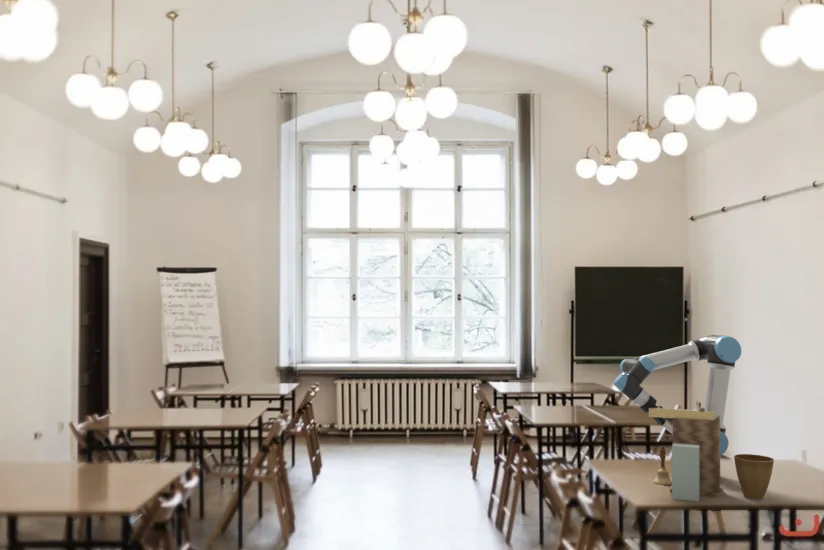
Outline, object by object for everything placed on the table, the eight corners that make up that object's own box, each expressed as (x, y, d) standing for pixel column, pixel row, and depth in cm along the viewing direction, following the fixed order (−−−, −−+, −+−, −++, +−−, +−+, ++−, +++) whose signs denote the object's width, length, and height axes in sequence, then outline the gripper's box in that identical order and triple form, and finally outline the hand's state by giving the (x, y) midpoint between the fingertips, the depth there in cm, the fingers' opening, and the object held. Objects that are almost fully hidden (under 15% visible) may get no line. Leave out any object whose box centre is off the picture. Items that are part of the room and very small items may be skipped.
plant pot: (728, 496, 322) (727, 457, 322) (743, 491, 332) (743, 452, 333) (765, 503, 311) (765, 462, 312) (780, 497, 322) (779, 457, 322)
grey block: (672, 498, 317) (671, 445, 318) (673, 495, 324) (673, 443, 325) (698, 501, 313) (698, 447, 314) (699, 497, 320) (699, 445, 320)
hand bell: (673, 485, 342) (673, 448, 343) (653, 484, 344) (653, 447, 344) (671, 481, 350) (671, 445, 351) (652, 480, 352) (652, 444, 353)
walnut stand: (669, 492, 329) (669, 415, 330) (673, 486, 339) (672, 412, 341) (721, 497, 320) (721, 418, 322) (723, 491, 331) (722, 415, 333)
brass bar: (648, 416, 337) (648, 405, 338) (649, 415, 341) (649, 404, 341) (714, 420, 327) (714, 409, 327) (714, 419, 330) (714, 408, 330)
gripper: (630, 408, 364) (666, 439, 363) (649, 406, 340) (688, 439, 338) (640, 396, 366) (675, 427, 364) (660, 393, 342) (698, 426, 340)
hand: (681, 433), depth 351 cm, fingers open, 13 cm apart
